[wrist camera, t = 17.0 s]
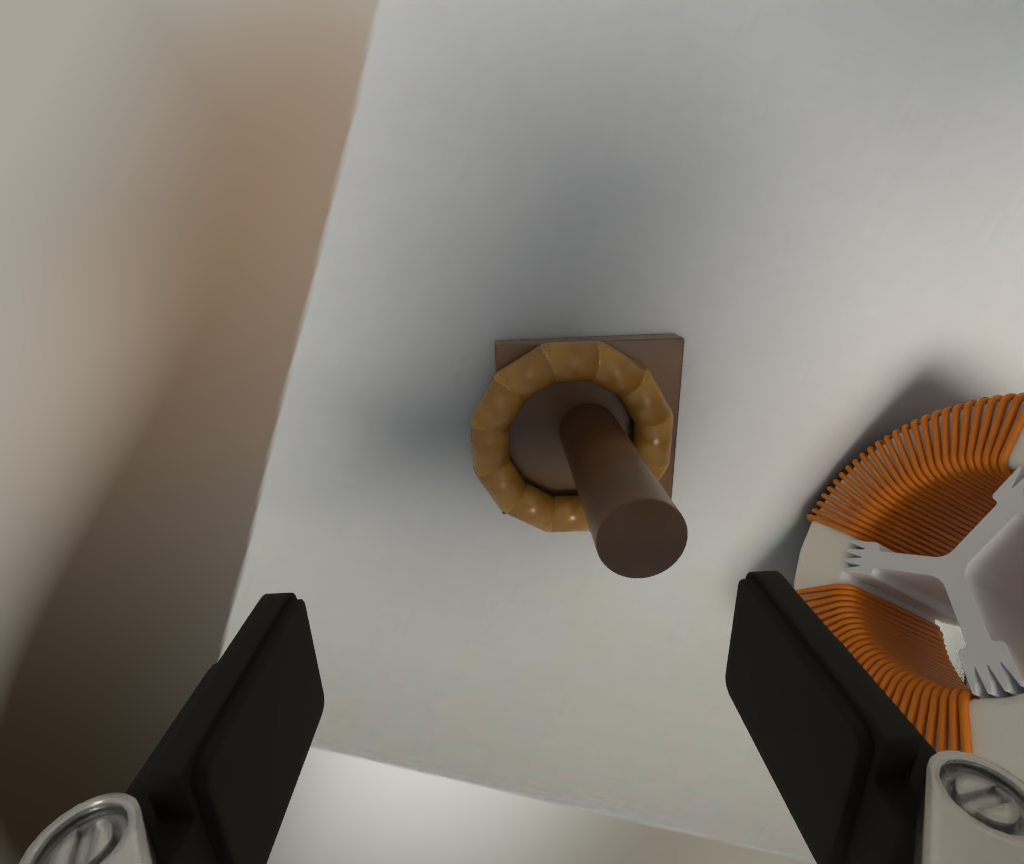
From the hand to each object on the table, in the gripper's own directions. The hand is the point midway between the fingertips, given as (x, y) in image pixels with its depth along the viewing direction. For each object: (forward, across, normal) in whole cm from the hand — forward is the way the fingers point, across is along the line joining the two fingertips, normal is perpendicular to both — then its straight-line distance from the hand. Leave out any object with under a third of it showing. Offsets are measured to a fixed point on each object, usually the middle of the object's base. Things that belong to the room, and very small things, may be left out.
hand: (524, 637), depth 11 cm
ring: (+12, -3, 0) cm, 12 cm away
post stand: (+14, -4, 0) cm, 14 cm away
